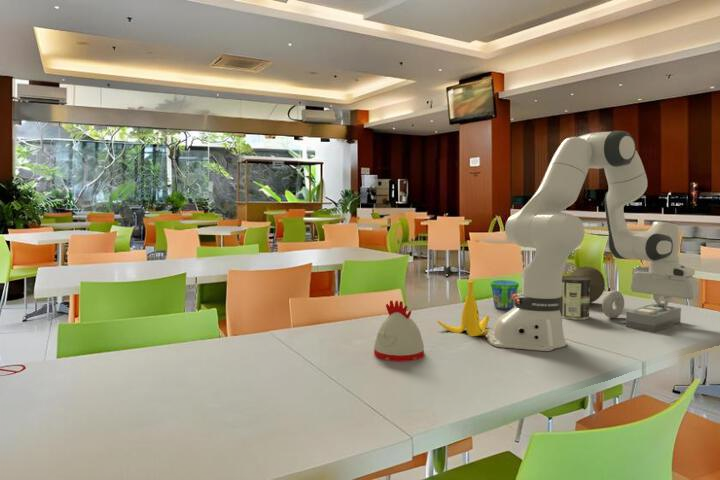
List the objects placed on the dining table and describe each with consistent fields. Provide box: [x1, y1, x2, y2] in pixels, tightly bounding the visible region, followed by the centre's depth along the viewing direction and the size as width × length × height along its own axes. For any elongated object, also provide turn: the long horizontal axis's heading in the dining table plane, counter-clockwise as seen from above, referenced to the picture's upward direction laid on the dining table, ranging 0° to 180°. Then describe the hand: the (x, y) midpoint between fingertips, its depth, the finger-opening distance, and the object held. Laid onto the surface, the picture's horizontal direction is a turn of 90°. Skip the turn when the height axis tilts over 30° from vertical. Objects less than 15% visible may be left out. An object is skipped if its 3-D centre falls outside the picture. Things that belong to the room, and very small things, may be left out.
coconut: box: [569, 266, 606, 304], centre depth 209 cm, size 14×14×15 cm
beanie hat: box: [373, 300, 425, 362], centre depth 146 cm, size 14×14×15 cm
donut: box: [601, 289, 625, 319], centre depth 185 cm, size 10×3×10 cm, turn 119°
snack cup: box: [490, 279, 520, 311], centre depth 204 cm, size 16×10×10 cm
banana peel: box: [436, 280, 490, 337], centre depth 169 cm, size 17×19×17 cm
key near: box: [637, 309, 655, 315], centre depth 172 cm, size 4×4×2 cm
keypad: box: [625, 303, 682, 333], centre depth 176 cm, size 20×9×5 cm, turn 128°
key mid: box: [645, 306, 663, 312], centre depth 176 cm, size 4×4×2 cm
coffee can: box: [561, 275, 590, 321], centre depth 188 cm, size 10×10×14 cm
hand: (661, 308), depth 180 cm, fingers closed
